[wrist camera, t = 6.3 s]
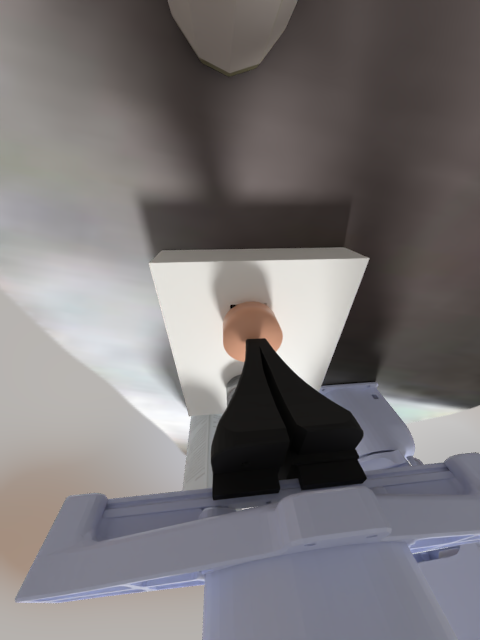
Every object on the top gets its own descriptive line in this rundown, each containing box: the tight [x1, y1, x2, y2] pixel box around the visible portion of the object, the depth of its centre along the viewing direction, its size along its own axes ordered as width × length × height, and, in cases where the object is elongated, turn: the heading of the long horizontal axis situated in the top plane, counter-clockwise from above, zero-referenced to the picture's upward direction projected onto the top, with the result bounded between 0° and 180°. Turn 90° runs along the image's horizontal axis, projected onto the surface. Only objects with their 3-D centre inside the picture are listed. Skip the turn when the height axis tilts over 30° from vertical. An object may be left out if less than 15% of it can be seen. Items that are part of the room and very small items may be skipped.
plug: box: [226, 374, 241, 406], centre depth 22 cm, size 4×4×5 cm
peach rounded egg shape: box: [223, 302, 283, 362], centre depth 16 cm, size 4×4×5 cm
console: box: [149, 247, 370, 416], centre depth 20 cm, size 16×19×4 cm
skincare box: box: [182, 413, 241, 511], centre depth 24 cm, size 6×4×12 cm
